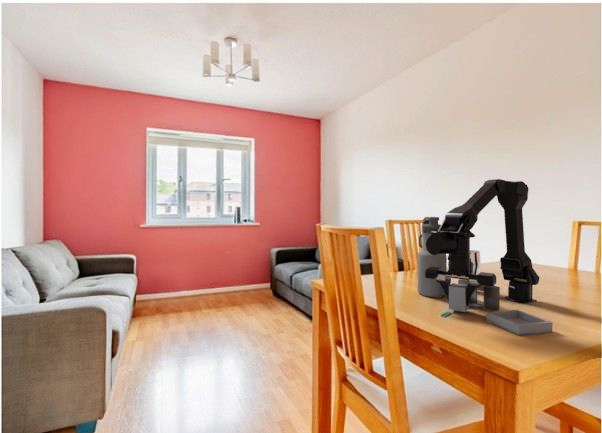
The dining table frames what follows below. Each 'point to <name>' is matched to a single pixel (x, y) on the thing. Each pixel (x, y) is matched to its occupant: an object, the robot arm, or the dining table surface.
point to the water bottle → (429, 261)
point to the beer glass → (475, 262)
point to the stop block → (458, 297)
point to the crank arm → (488, 295)
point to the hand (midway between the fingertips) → (458, 304)
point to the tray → (519, 322)
